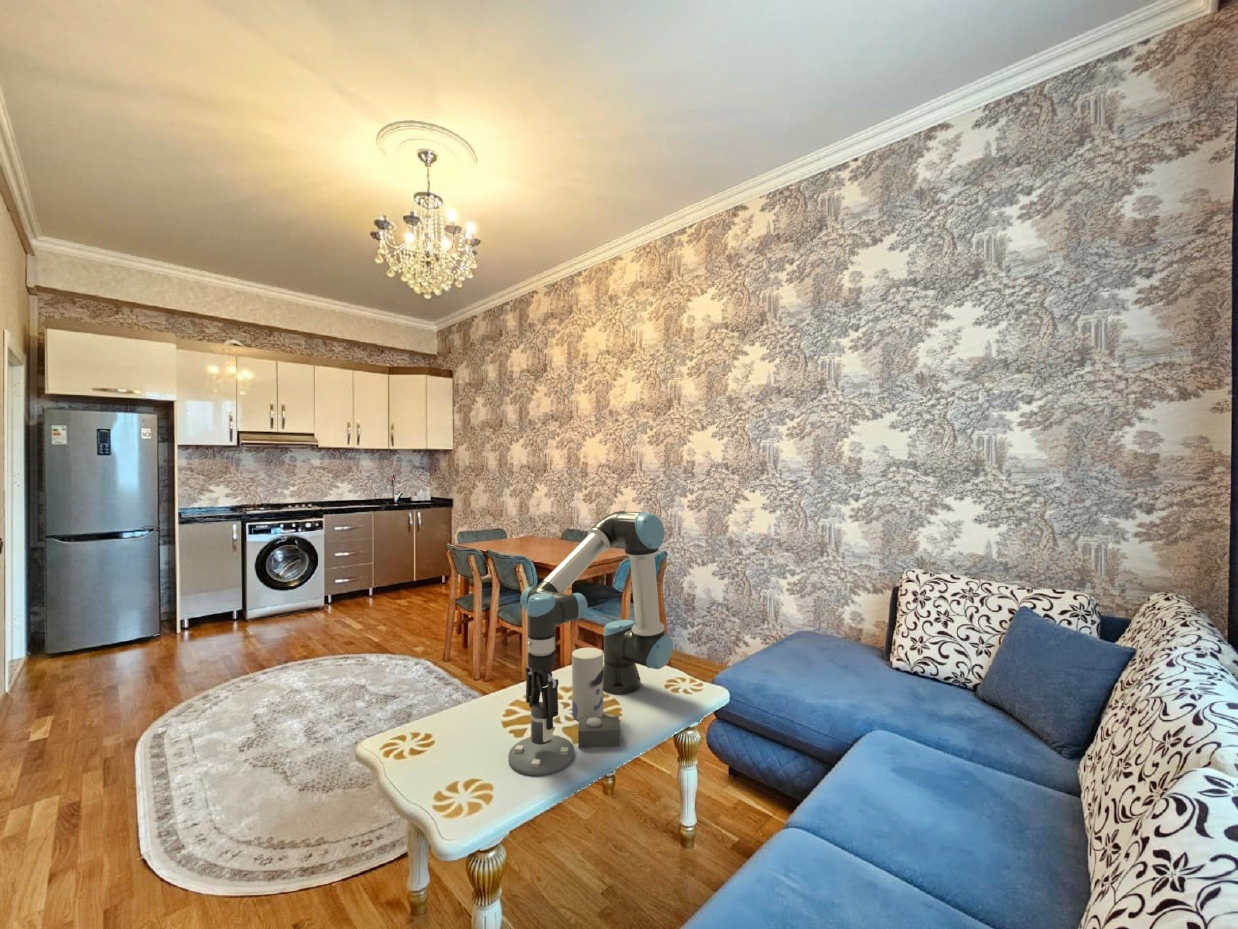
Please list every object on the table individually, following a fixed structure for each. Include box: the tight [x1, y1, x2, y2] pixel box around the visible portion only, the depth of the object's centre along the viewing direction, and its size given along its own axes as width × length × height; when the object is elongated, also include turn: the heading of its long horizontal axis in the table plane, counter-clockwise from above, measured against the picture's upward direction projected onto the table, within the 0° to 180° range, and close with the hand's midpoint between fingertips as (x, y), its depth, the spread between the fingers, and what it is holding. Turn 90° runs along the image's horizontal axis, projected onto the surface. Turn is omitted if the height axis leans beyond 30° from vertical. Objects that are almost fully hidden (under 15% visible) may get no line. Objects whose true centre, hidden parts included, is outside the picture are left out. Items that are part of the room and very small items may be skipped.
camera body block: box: [577, 715, 621, 749], centre depth 149 cm, size 12×8×6 cm, turn 94°
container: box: [571, 647, 604, 721], centre depth 164 cm, size 10×10×20 cm
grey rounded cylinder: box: [530, 701, 551, 745], centre depth 141 cm, size 6×6×9 cm
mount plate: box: [508, 734, 575, 777], centre depth 140 cm, size 18×18×2 cm
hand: (541, 735), depth 141 cm, fingers closed on grey rounded cylinder, 6 cm apart
